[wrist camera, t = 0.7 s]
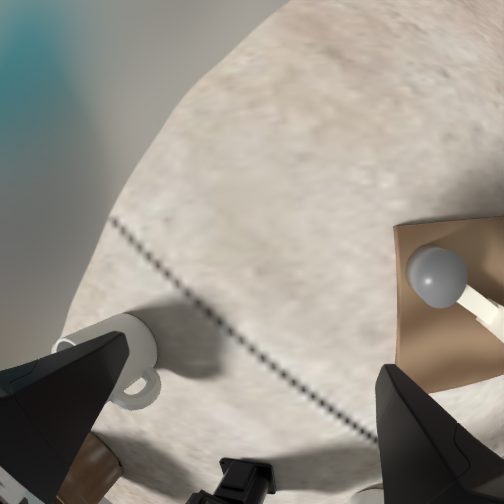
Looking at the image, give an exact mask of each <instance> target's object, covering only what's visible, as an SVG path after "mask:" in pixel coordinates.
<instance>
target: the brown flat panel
mask: <svg viewBox="0 0 504 504" xmlns="http://www.w3.org/2000/svg"><path fill="white" fill-rule="evenodd" d="M393 228H394V238H395V251H396V269H397V341H396V358H395V365H397V366H398V367H399V368H400V369H401V370H402V371H403V372H404V373H405V374H407V375H408V376H409V377H410V378H411V379H412V380H413V381H414V382H415V383H416V384H417V385H419V386H420V387H421V388H422V389H423V390H424V391H425V392H426V393H427V394H429V393H435V392H440V391H444V390H449V389H453V388H458V387H462V386H466V385H470V384H473V383H477V382H481V381H484V380H487V379H491V378H494V377H497V376H500V375H503V374H504V343H503V342H502V341H501V340H500V339H498V338H497V337H496V336H495V335H494V334H493V333H492V332H490V331H489V330H488V329H487V328H486V327H484V326H483V325H482V324H481V323H480V322H478V321H477V320H476V318H477V316H476V315H475V314H473V313H472V312H470V311H469V310H468V309H466V308H465V307H463V306H462V305H460V304H459V303H458V302H455V303H454V304H453V305H451V306H449V307H446V308H434V307H431V306H430V305H428V304H427V303H426V302H425V301H424V300H423V299H422V298H421V297H420V296H419V295H418V294H417V293H416V292H415V291H414V290H413V289H412V288H411V287H410V286H409V284H408V282H407V280H406V275H405V268H406V263H407V260H408V258H409V257H410V255H411V254H412V253H413V252H414V251H415V250H416V249H417V248H419V247H421V246H425V245H432V246H436V247H439V248H442V249H446V250H449V251H452V252H454V253H456V254H458V255H459V256H460V257H461V258H462V260H463V261H464V263H465V265H466V268H467V285H469V286H470V287H471V288H473V289H474V290H475V291H477V292H478V293H479V294H481V295H482V296H483V297H484V298H486V299H488V298H490V299H491V300H493V301H495V302H496V303H498V304H499V305H501V306H503V307H504V216H498V217H487V218H475V219H464V220H453V221H442V222H432V223H421V224H411V225H401V226H393Z"/></svg>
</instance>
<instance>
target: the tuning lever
mask: <svg viewBox="0 0 504 504" xmlns="http://www.w3.org/2000/svg"><path fill="white" fill-rule="evenodd" d="M405 275H406V280H407V282H408V284H409V286H410V287H411V288H412V289H413V290H414V291H415V292H416V293H417V294H418V295H419V296H420V297H421V298H422V299H423V300H424V301H425V302H426V303H427V304H428V305H430V306H431V307H434V308H446V307H449V306H451V305H453V304H454V303H455V302H458V303H459V304H460V305H462V306H463V307H465V308H466V309H468V310H469V311H470V312H472V313H473V314H475V315H476V316H477V318H476V320H477V321H478V322H480V323H481V324H482V325H483V326H484V327H486V328H487V329H488V330H489V331H490V332H492V333H493V334H494V335H495V336H496V337H497V338H498V339H500V340H501V341H502V342H503V343H504V307H503V306H501V305H499V304H498V303H496V302H495V301H493V300H491V299H490V298H488V299H486V298H484V297H483V296H482V295H481V294H479V293H478V292H477V291H475V290H474V289H473V288H471V287H470V286H469V285H467V268H466V265H465V263H464V261H463V260H462V258H461V257H460V256H459V255H458V254H456V253H454V252H452V251H449V250H446V249H442V248H439V247H436V246H432V245H425V246H421V247H419V248H417V249H416V250H415V251H414V252H413V253H412V254H411V255H410V257H409V258H408V260H407V263H406V268H405Z"/></svg>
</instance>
